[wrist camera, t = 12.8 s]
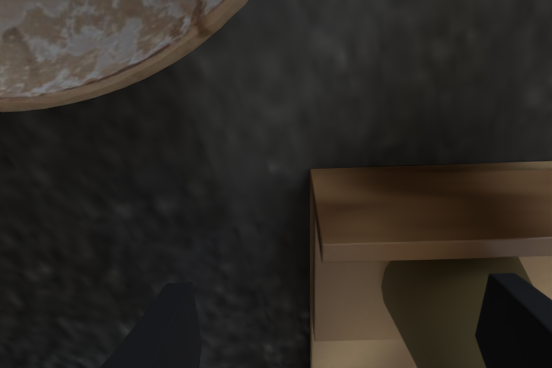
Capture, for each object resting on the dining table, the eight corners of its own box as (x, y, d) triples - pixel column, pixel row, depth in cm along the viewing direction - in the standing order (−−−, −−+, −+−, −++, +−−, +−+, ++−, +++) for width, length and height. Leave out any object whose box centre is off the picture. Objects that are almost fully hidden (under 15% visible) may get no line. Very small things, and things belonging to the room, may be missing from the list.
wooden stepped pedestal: (310, 396, 28) (318, 501, 23) (309, 168, 21) (321, 245, 16) (506, 391, 28) (560, 495, 23) (574, 159, 21) (675, 234, 16)
